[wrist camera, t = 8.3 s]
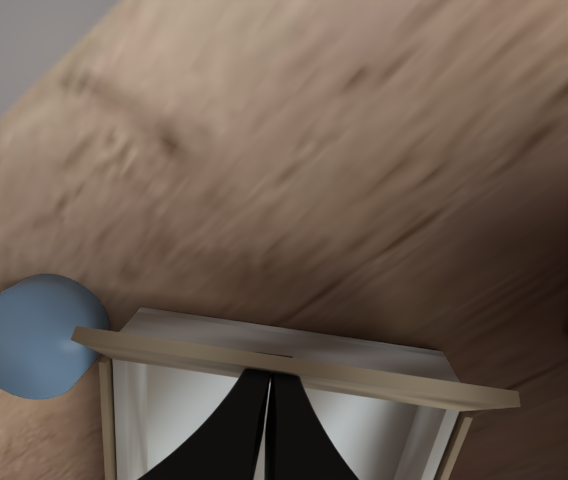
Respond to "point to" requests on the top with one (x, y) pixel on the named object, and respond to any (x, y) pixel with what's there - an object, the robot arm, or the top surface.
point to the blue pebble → (46, 335)
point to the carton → (214, 388)
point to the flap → (296, 371)
